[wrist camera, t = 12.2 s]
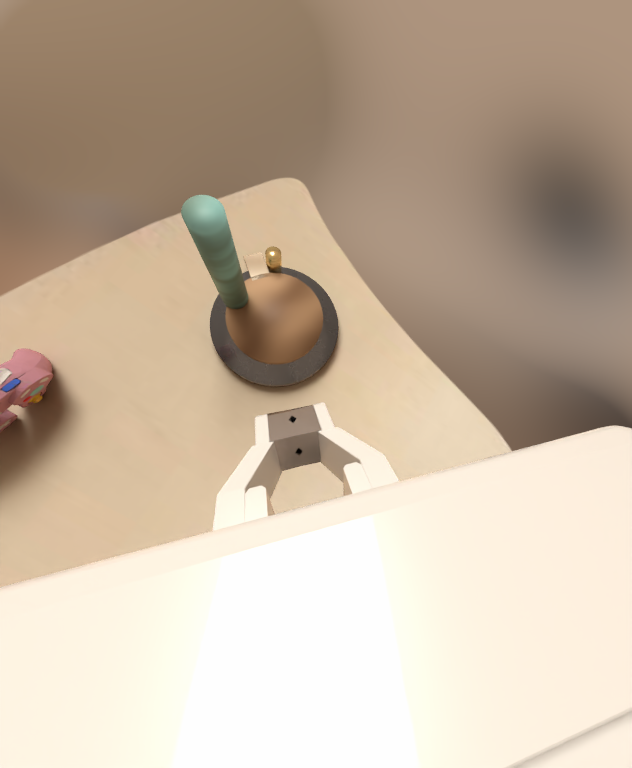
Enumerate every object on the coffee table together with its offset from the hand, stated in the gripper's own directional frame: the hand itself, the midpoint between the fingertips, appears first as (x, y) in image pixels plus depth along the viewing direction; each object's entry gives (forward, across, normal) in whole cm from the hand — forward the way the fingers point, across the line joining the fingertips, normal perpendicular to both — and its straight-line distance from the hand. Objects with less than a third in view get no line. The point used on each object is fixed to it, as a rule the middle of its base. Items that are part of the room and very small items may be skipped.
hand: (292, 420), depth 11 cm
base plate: (+19, 0, +3) cm, 19 cm away
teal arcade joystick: (+18, 0, +1) cm, 18 cm away
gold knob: (+24, -2, -1) cm, 24 cm away
